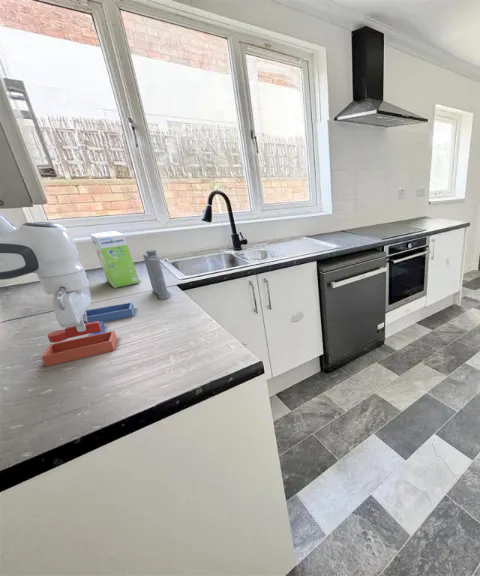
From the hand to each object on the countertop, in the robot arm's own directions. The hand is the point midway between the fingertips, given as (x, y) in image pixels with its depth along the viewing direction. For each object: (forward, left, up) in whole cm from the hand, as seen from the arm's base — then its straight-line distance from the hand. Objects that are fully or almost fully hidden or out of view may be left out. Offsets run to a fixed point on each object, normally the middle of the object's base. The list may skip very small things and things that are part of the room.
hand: (83, 328), depth 88 cm
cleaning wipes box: (+1, +79, -8) cm, 79 cm away
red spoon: (-2, 0, -2) cm, 2 cm away
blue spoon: (0, +12, -8) cm, 14 cm away
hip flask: (+17, +45, -8) cm, 49 cm away
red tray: (-2, 0, -8) cm, 8 cm away
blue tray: (+1, +27, -8) cm, 28 cm away
